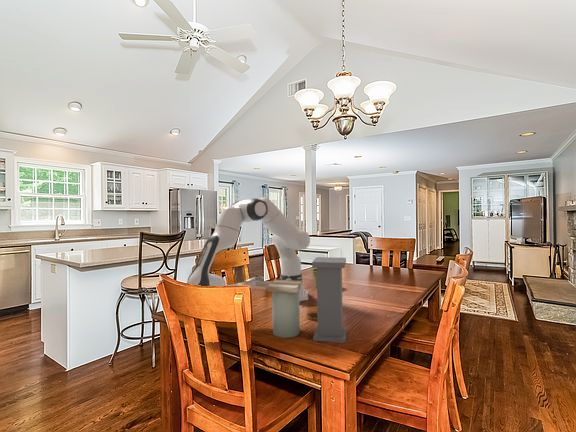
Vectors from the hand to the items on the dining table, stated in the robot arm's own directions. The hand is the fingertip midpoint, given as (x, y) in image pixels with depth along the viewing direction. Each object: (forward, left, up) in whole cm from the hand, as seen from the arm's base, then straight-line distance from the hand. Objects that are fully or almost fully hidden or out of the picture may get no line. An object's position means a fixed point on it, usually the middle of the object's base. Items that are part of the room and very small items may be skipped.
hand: (259, 280), depth 130 cm
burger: (-20, +21, -21) cm, 36 cm away
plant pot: (-75, +16, -21) cm, 80 cm away
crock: (0, +11, -21) cm, 24 cm away
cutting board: (0, +5, -3) cm, 6 cm away
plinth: (0, +29, -21) cm, 36 cm away
